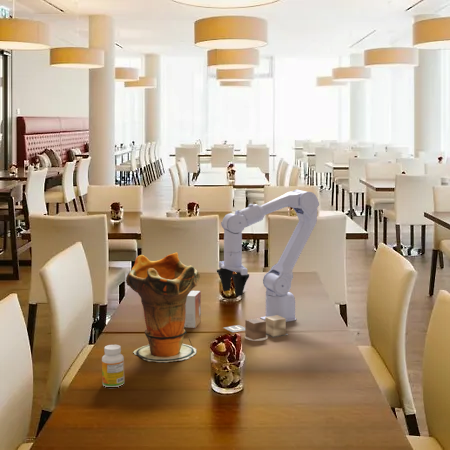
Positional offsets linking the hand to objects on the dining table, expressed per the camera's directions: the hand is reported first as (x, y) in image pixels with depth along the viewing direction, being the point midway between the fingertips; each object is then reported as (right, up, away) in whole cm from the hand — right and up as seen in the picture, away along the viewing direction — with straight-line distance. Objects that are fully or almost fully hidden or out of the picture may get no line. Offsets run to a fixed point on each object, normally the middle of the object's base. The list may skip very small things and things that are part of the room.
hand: (232, 293), depth 223 cm
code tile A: (+1, -11, -4) cm, 12 cm away
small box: (-14, -11, +1) cm, 17 cm away
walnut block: (+7, -12, -13) cm, 19 cm away
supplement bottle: (-30, -18, -51) cm, 62 cm away
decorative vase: (-19, -14, -26) cm, 36 cm away
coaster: (+7, -12, -13) cm, 19 cm away
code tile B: (+13, -12, -9) cm, 20 cm away
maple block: (+13, -12, -9) cm, 20 cm away
